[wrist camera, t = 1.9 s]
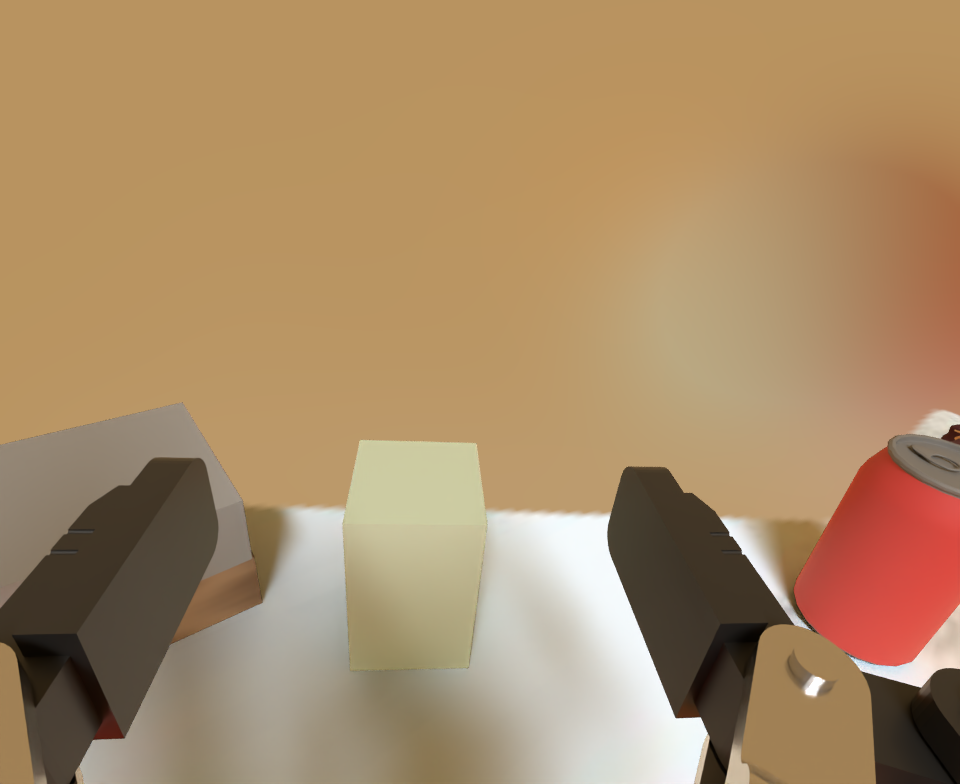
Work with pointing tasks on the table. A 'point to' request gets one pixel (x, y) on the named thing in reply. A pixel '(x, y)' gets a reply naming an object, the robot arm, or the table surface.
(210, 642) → the table surface
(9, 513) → the tower top block
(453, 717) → the table surface
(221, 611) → the tower base block
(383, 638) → the sage block
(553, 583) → the table surface
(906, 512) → the beer can
